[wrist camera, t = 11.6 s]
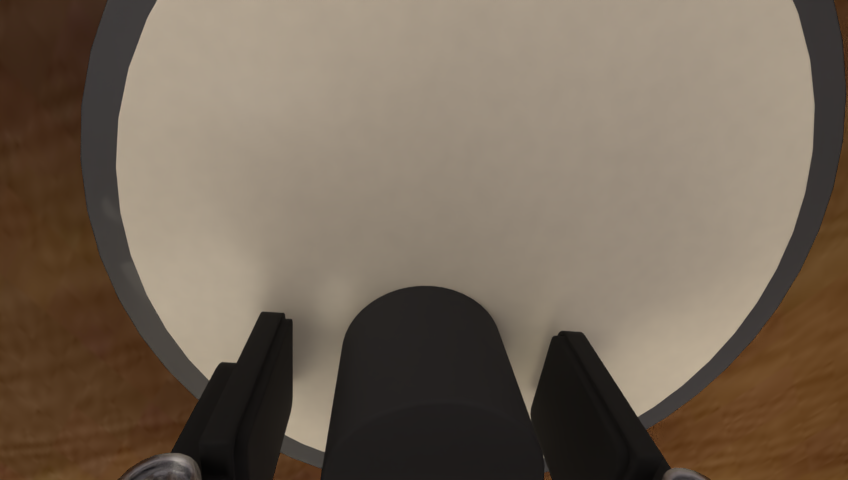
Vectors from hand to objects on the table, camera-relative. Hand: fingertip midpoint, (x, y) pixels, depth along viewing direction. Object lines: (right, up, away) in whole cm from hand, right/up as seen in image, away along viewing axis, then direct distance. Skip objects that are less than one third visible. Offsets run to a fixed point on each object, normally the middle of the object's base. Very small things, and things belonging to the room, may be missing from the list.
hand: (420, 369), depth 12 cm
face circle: (+1, +4, 0) cm, 4 cm away
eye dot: (0, 0, +1) cm, 1 cm away
